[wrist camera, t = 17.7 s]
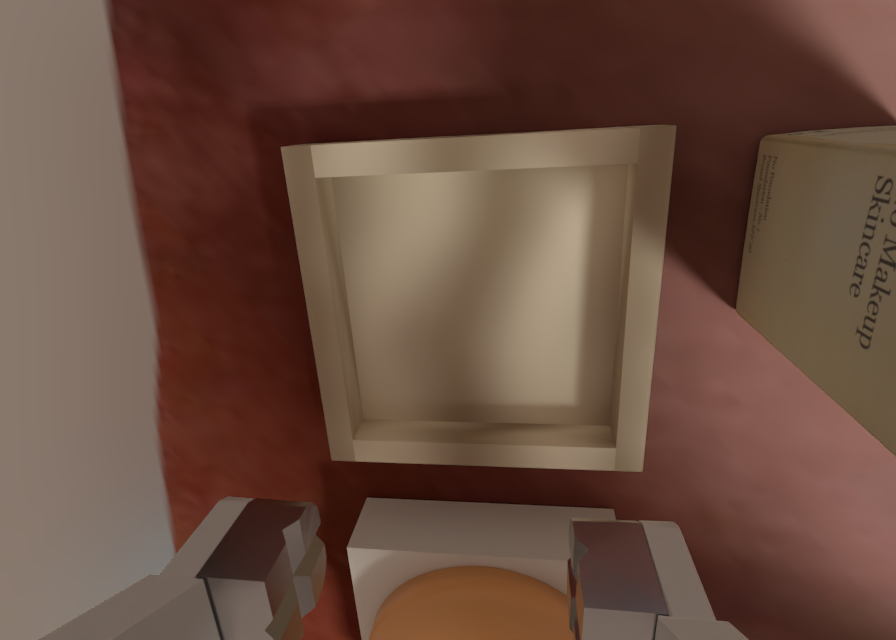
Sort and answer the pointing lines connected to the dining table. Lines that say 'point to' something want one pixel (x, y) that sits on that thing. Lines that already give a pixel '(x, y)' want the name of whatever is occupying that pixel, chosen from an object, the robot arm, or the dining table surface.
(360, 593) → the white square base
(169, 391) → the dining table surface
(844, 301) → the skincare box
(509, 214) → the beige soap dish
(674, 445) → the dining table surface
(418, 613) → the button
